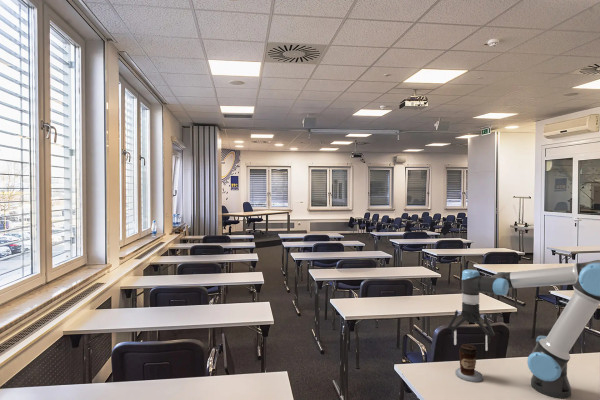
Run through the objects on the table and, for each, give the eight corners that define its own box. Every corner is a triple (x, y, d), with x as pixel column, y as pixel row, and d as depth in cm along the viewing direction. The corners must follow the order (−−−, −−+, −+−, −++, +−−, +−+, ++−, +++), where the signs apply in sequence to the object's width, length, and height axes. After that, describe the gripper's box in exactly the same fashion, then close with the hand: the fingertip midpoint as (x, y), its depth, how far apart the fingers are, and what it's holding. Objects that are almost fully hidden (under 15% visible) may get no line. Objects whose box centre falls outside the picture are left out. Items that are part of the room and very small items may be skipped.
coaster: (483, 373, 178) (483, 371, 178) (482, 384, 168) (482, 382, 168) (457, 367, 184) (457, 365, 184) (453, 377, 174) (453, 375, 174)
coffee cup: (480, 377, 172) (481, 350, 172) (462, 377, 172) (463, 350, 172) (472, 369, 181) (472, 342, 181) (455, 368, 181) (455, 342, 181)
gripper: (500, 304, 173) (500, 349, 173) (444, 297, 185) (444, 339, 185) (500, 308, 166) (500, 354, 166) (441, 300, 179) (441, 344, 179)
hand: (470, 346), depth 176 cm, fingers open, 13 cm apart
